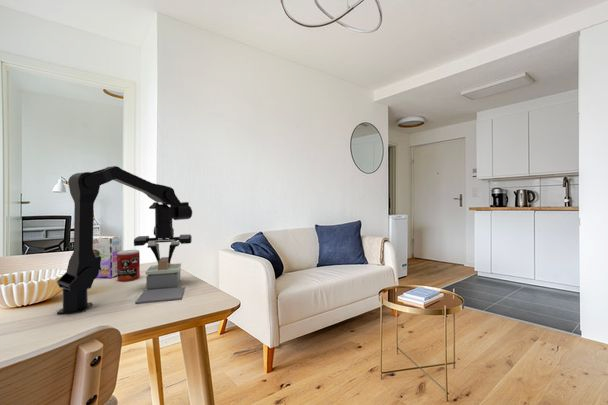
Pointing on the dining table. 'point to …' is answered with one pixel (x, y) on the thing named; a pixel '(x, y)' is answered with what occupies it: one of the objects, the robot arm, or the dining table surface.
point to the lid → (163, 268)
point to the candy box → (107, 254)
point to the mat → (160, 295)
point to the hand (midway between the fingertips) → (164, 263)
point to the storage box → (162, 281)
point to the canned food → (128, 265)
